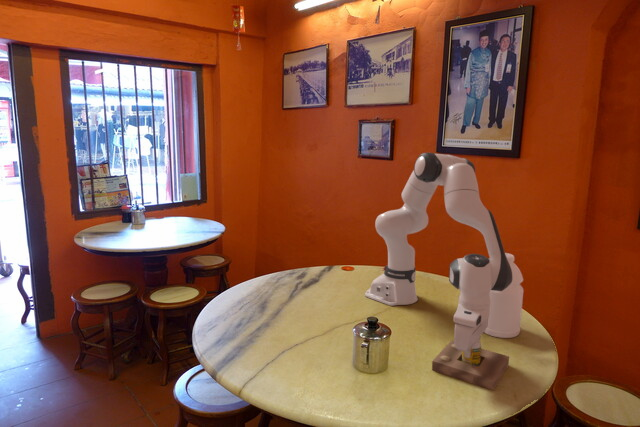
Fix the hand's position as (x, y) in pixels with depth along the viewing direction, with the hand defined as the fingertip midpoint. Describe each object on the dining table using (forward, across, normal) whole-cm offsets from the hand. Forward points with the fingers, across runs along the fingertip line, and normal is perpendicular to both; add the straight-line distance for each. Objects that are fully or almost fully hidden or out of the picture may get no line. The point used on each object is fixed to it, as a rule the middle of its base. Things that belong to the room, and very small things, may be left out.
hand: (471, 352), depth 133 cm
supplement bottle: (+4, 0, 0) cm, 4 cm away
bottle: (+5, -31, 0) cm, 31 cm away
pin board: (+5, 0, 0) cm, 5 cm away
